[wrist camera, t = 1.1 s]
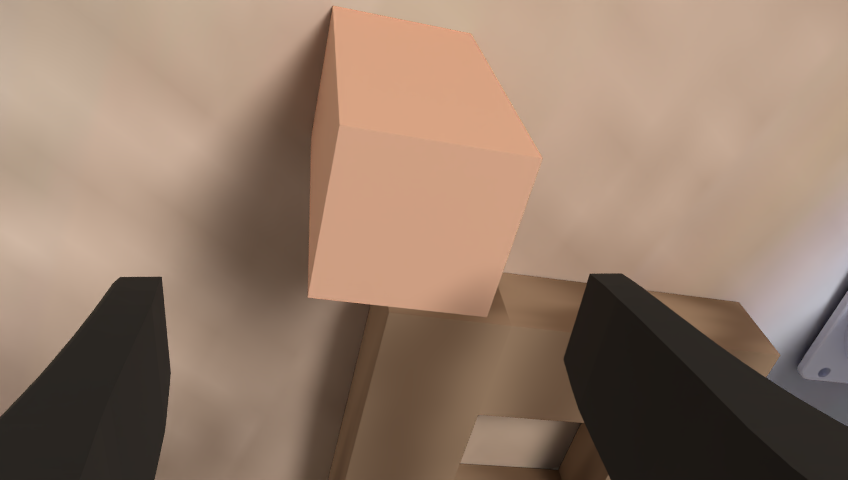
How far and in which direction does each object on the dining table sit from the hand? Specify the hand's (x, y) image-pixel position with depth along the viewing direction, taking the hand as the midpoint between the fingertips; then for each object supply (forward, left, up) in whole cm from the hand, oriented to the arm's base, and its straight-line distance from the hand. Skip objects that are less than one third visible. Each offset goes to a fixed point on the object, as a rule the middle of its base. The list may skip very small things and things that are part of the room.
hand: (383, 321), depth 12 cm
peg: (-1, 0, -11) cm, 11 cm away
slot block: (-9, +13, -11) cm, 19 cm away
